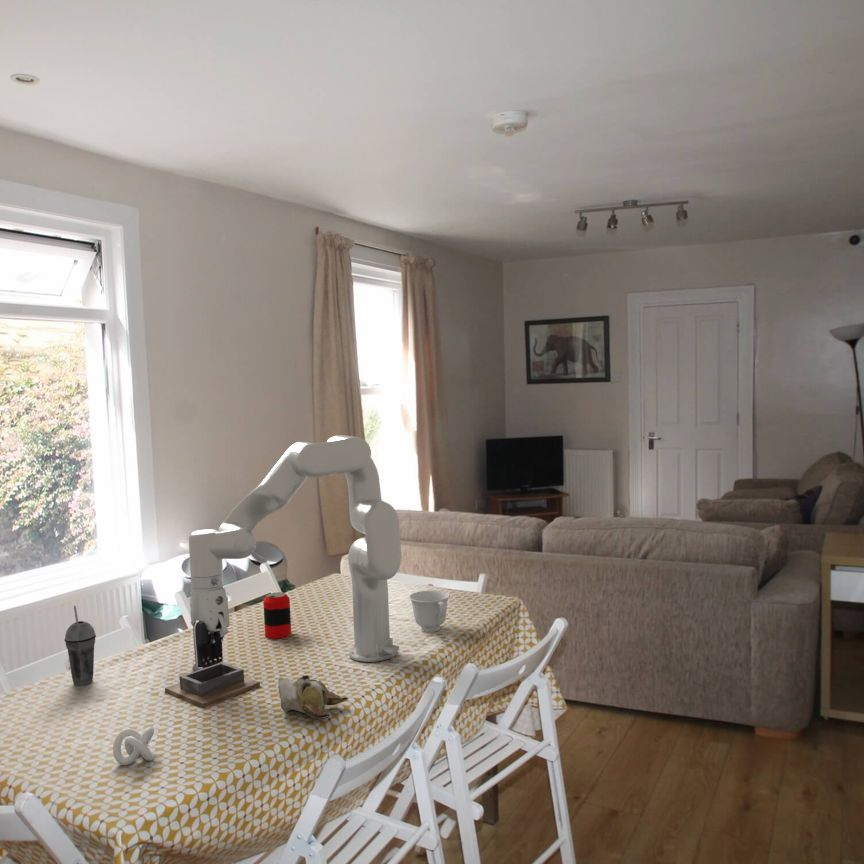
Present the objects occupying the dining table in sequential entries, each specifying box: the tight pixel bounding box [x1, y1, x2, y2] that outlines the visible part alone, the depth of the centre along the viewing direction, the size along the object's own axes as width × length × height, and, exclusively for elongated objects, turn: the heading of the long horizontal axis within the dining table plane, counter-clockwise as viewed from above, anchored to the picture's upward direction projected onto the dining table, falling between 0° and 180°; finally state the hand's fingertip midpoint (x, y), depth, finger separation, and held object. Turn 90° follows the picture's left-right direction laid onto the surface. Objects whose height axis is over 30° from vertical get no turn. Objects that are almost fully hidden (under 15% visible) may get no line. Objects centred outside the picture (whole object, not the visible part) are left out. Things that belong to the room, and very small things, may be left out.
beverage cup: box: [64, 605, 97, 687], centre depth 199 cm, size 7×7×20 cm
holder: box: [164, 661, 261, 708], centre depth 192 cm, size 16×16×4 cm
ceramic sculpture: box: [277, 674, 348, 720], centre depth 177 cm, size 11×9×15 cm
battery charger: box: [192, 620, 224, 668], centre depth 192 cm, size 7×4×11 cm, turn 144°
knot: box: [112, 726, 155, 766], centre depth 157 cm, size 8×8×6 cm
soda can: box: [262, 591, 292, 640], centre depth 232 cm, size 8×8×12 cm
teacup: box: [408, 590, 451, 633], centre depth 232 cm, size 12×15×10 cm
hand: (210, 655), depth 192 cm, fingers closed on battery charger, 3 cm apart
